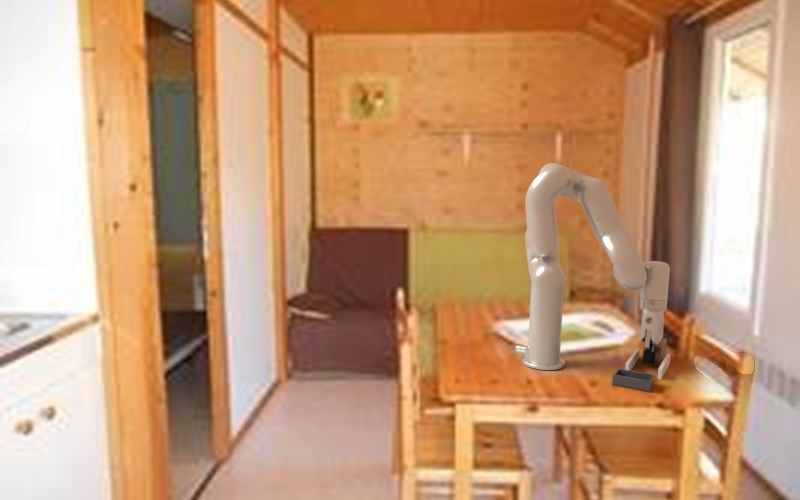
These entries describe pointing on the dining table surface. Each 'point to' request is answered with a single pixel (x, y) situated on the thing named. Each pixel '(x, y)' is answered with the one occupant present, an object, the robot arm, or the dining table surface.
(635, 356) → the channel
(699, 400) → the dining table surface
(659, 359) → the walnut block
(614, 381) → the bin
